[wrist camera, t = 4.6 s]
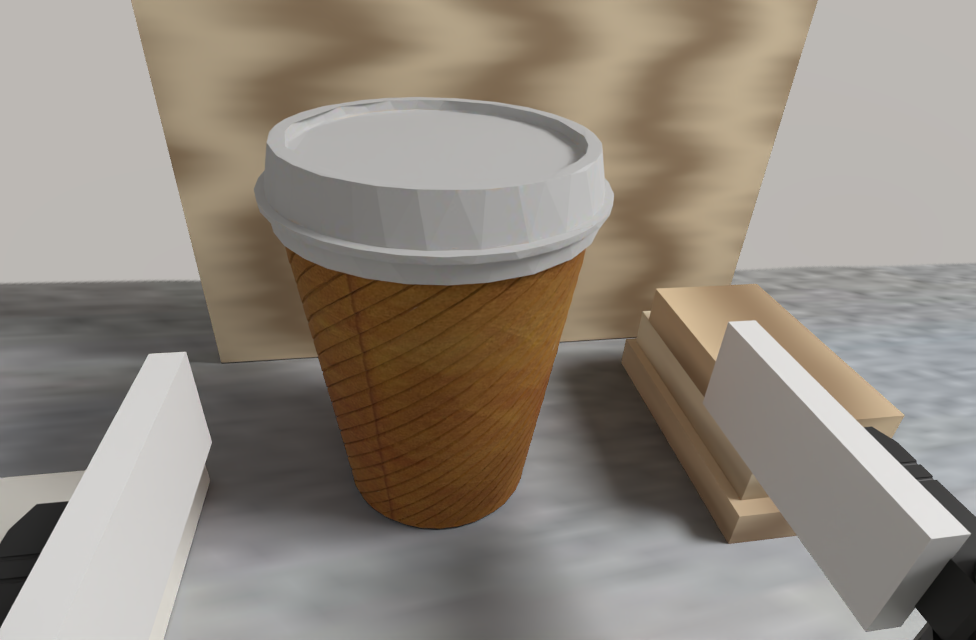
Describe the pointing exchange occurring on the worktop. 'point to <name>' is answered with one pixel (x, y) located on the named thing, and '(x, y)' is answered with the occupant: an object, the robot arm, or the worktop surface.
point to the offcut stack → (684, 381)
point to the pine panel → (487, 77)
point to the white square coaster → (18, 495)
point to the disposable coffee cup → (435, 283)
